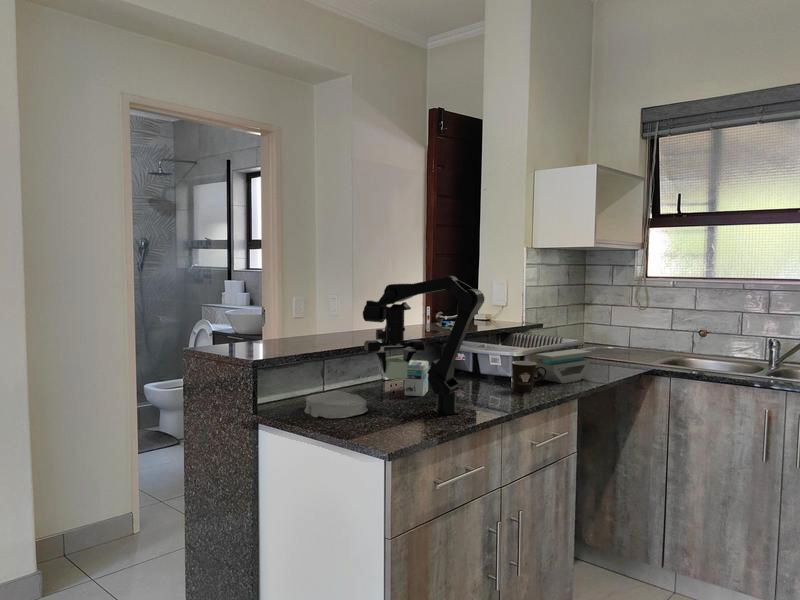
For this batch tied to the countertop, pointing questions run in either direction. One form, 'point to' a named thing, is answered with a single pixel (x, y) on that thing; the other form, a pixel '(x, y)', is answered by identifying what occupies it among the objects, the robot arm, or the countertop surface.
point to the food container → (335, 405)
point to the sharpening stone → (564, 365)
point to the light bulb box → (416, 378)
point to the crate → (395, 368)
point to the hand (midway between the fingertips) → (394, 372)
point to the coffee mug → (524, 375)
